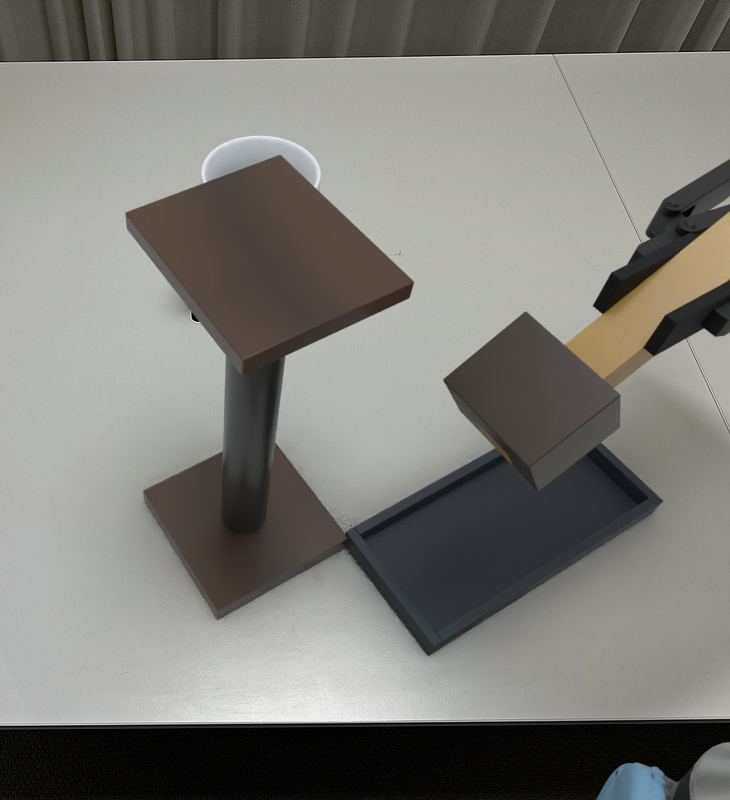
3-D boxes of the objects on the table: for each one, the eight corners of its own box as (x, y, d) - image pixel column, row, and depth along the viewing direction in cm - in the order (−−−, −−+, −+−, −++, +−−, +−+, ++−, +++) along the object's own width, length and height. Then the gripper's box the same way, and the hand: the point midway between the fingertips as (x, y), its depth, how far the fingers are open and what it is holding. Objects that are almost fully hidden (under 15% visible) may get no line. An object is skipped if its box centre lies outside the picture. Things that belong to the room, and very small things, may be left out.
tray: (557, 421, 70) (565, 408, 69) (652, 512, 65) (664, 500, 63) (342, 542, 63) (345, 531, 62) (428, 656, 58) (434, 646, 56)
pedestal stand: (264, 440, 69) (294, 148, 45) (346, 547, 63) (431, 274, 39) (144, 500, 66) (107, 218, 42) (217, 620, 60) (223, 369, 36)
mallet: (707, 207, 48) (718, 150, 43) (811, 278, 44) (837, 224, 39) (459, 410, 51) (442, 379, 46) (537, 492, 47) (528, 468, 42)
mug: (211, 348, 76) (211, 245, 65) (149, 282, 81) (140, 177, 71) (329, 284, 81) (347, 179, 70) (263, 226, 86) (271, 120, 76)
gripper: (972, 296, 49) (719, 456, 43) (750, 159, 58) (510, 275, 51) (1078, 200, 43) (803, 368, 37) (813, 63, 52) (549, 180, 45)
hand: (633, 314), depth 44 cm, fingers closed on mallet, 3 cm apart
